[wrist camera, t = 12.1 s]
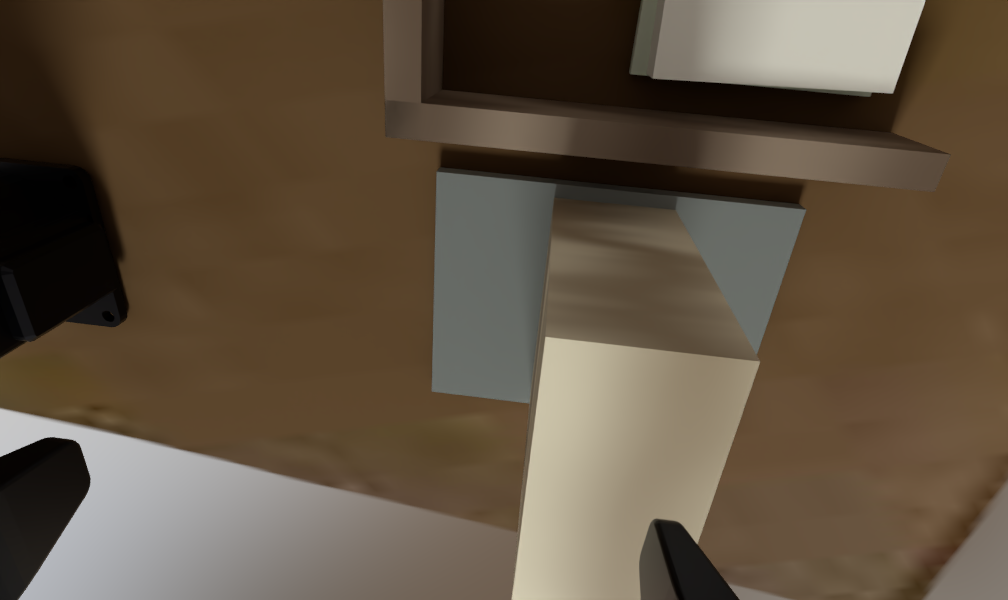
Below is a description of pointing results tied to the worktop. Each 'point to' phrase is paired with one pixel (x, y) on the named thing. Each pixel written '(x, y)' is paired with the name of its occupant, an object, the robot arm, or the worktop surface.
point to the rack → (626, 123)
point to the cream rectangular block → (623, 399)
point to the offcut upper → (784, 42)
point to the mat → (522, 261)
